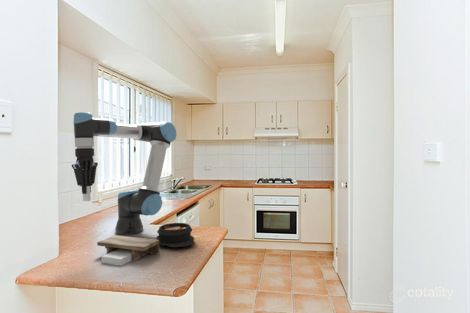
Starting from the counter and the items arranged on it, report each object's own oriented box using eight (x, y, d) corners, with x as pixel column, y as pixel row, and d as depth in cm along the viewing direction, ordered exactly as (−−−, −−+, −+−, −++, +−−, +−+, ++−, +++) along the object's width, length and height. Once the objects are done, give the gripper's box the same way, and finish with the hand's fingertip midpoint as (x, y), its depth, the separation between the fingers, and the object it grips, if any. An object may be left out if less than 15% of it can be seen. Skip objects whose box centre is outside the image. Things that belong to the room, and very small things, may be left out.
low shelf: (115, 248, 139) (115, 235, 139) (159, 253, 131) (159, 239, 131) (97, 255, 128) (97, 242, 128) (143, 261, 120) (143, 247, 120)
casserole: (148, 240, 151) (148, 223, 151) (182, 234, 161) (182, 219, 161) (165, 254, 130) (165, 235, 130) (203, 246, 140) (203, 228, 140)
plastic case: (125, 252, 134) (125, 246, 134) (143, 255, 130) (143, 248, 130) (101, 263, 120) (101, 256, 120) (121, 266, 117) (121, 259, 117)
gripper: (88, 147, 138) (91, 197, 139) (65, 148, 126) (68, 203, 126) (102, 147, 136) (104, 198, 137) (79, 147, 123) (82, 203, 124)
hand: (86, 200), depth 132 cm, fingers closed
